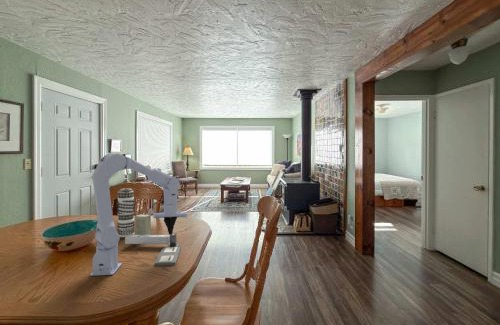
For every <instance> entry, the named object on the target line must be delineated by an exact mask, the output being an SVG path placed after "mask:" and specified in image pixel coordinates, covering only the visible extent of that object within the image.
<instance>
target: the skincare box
mask: <svg viewBox="0 0 500 325" xmlns="http://www.w3.org/2000/svg"><path fill="white" fill-rule="evenodd" d="M151 221H152V220H151V214H138V215H135V235H152V224H151V223H152V222H151Z"/></svg>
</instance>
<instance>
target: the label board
mask: <svg viewBox="0 0 500 325" xmlns="http://www.w3.org/2000/svg"><path fill="white" fill-rule="evenodd" d="M181 250H182V246H179V247H167V246H164V247H162V249H161V251H160V252H159V254H158V256H157V257H156V260H155V262H154V264H153V265H154V267H158V266H176V265H177V261H178V258H179V256H180V252H181Z"/></svg>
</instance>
